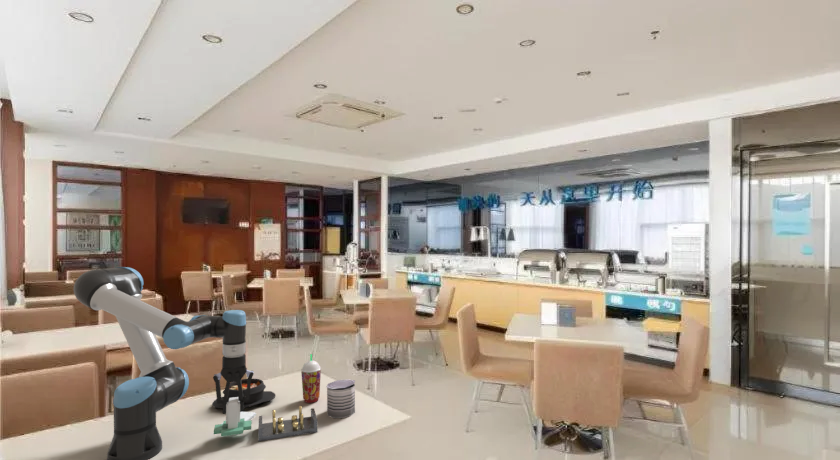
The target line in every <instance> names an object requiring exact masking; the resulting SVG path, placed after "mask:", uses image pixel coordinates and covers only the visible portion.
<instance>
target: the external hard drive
mask: <svg viewBox="0 0 840 460" xmlns="http://www.w3.org/2000/svg"><path fill="white" fill-rule="evenodd" d="M256 416H257V413H256V412H255V411H253V412H252V411H243V412H240V419H243V418H244V421H249V420H252V419H254V418H255V417H256ZM224 421H226V419H225V420H224ZM220 424H223V422H221V423H220Z"/></svg>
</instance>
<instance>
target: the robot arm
mask: <svg viewBox="0 0 840 460" xmlns="http://www.w3.org/2000/svg"><path fill="white" fill-rule="evenodd" d="M143 286H144V278H143V276H142V275H141V273H140V272H139V271H138V270H136V269H134V268H132V267H129V266H127V267H126V266H115V267H111V268H109V267H108V268H99V269H98V268H97V269H90V270H88V271H85V272H83V273H82V274H81V275H79V277H77V279H76V280H75V282H74V284H73V295H74V296H75V298H76V299H77V300H78V301H79V303H81V304H82V305H84V306H86V307H87V308H89V309H92V310H94V311H101V310H102V311H104V312H107V313H108V314H110V315H112V316H115V319H116V320H117V322H118V324H119V326H120V329H121V331H122V333H123V335H124V338H125V340H126V342H127V344H128V347H129V349H130V351H131V353H132V355H133V357H134V360H135V361H136V363H137V366H138V368H139V370H140V374H139V375H138V377H135V378H133V379H132V378H131V379H128V380H126V381H124V382H123V383H120V384H119V385H118V386H117V387H116V388H115V390H114V392H113V393H114V394H113V399H112V404H113V435H112V439H111V442H110V444H109V448H108V450H107V452H106V453H107V454H106V455H107V456H106V460H149V459H151V458H153V457H155V456H156V455H158V454H159V453H160V452H161V451H162V449H163V440H162V439H163V438H162V436H161V434H160V432H159V430H158V427H157V412H159V411H162V410H163V409H164V408H166V407H168V406H170V405H172V404H174V403H176V402H178V401H179V400H180V399H182V398H183V397H184V396H185V395H186V393H187V392H188V389H189V386H190V385H189V384H190V379H189V376H188V373H187V372H186V371H185V369H182V368H181V367H180V366H178V367H177V366H176V364H175V362H174V361H173V360H169V359H167V356H166V355H165V352H164V350H163V348H162V346H161V344H160V341H159V340H158V337H160V338H161V339H162V340H163V343H164V345H165V346H166V347H167V348H169V349H171V350H180V349H184V348H186V347H188V346H191V345H192V344H193V345H194V344H195V343H198V342H200V341H203V340H205V339H211V338H216V339H217V338H218V339H219V338H220V339H221V338H222V355H223V356H222V360H221V361H222V363H221V364H222V365H221V366H222V367H221V368H222V369H221V371H220V372H218V373H215V374H213V377H212V380H213V381H214V383H215V384H214V385H215V394H216V395H215V397H216V399H217V403H218V404H222V405H223V408H222V414H224V415H225V420H226V424H228V402H227V398H228V392H229V387H230V383H231V382H237V386H238V392H239V398H240V401H238V422H240V412H244V410H245V408H244V402H245V401H248V400H249V396H250V386H251V379H253V378H254V377H253V376H254V374H255V372H254V370H249V369H248V368H247V367H246V353H247V352H246V347H247V346H246V345H247V342H246V336H247V335H246V332H247V330H246V329H247V316H246V312H245V311H244V310H241V309H231V310H225V311H224V312H223V313H222V316H220V315H206V314H201V315H194V316H193V317H191V319H189V321H185V320H183V319H181V318H179V317H176V316H175V315H172V314H170V313H169V312H166V311H164V310H161V309H159V308H157V307H156V306H153V305H151V304H149V303H147V302H145V301H142V300H141V299H142V298H143V297H144V296H143V293H142V291H143V289H144V287H143ZM245 375H246V377H247V379H248V380H247V390H246V396H245V397H244V395H243V389H242V382H241V380H242V378H244V376H245ZM221 378H223V379H224V380H225V382H226V383H225V388H224V389H225V393H224V394H223V397H224V399H221V397H222V393H221V392H222V389H221Z"/></svg>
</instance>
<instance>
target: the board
mask: <svg viewBox="0 0 840 460" xmlns="http://www.w3.org/2000/svg"><path fill="white" fill-rule="evenodd" d="M238 398H239V397H232V398H229V402H228V424H226V421H225V420H223V421H222V423H223V424H221V423H220V424H215V425H214V429H213V435H220V437H228V436H229V437H230V436H234V435H235V436H236V435H242V434H243V435H244V431H250V430H252V422H253V421H252V419H251V420H249V421H244V418H243V419H240V422H238Z"/></svg>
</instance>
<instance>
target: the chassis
mask: <svg viewBox="0 0 840 460" xmlns="http://www.w3.org/2000/svg"><path fill="white" fill-rule="evenodd" d="M302 409H303V407H302V406H301V405H299V406H298V415H291V419H284V417H283V416H281V417H280V416H279V417H277V418H276V410H275V409H273V410H272V411H271V412H272V421H271V422H265V423H263V415H259V416H258V442H264V441H271V440H277V439H283V438H288V437H289V438H290V437H295V436H302V435H307V434H314V433H318V417H317V414H316V411H315V408H314V407H313V408H311V409H310V416H306V417H304V413H302V412H303V411H302Z"/></svg>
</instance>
